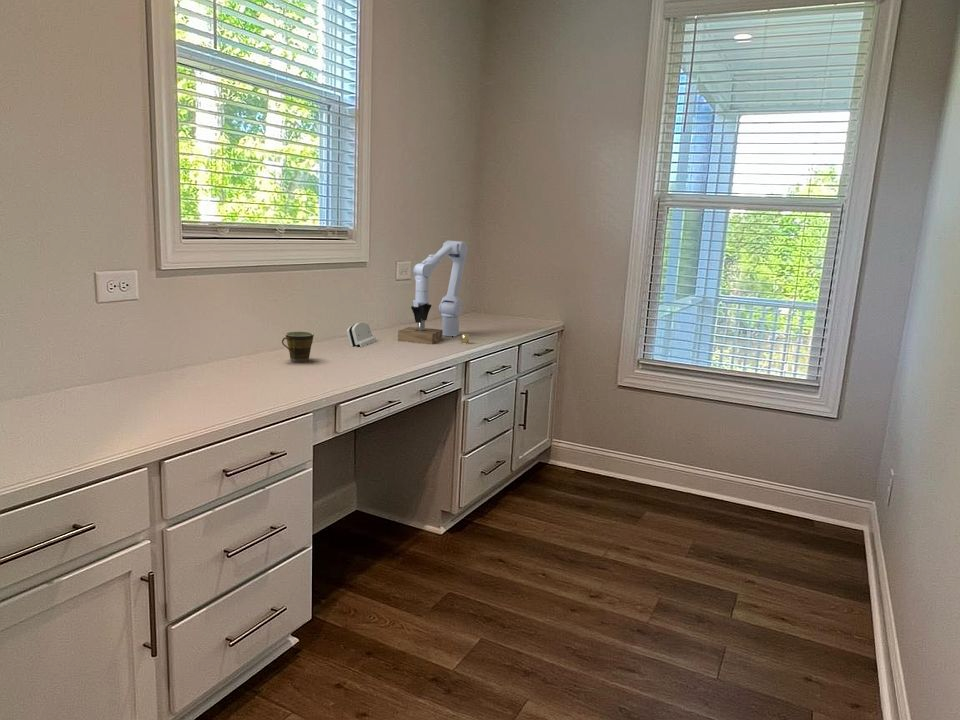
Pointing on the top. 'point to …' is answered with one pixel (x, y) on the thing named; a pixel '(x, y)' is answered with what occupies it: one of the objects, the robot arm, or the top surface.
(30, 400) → the top surface
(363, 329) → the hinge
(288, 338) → the ceramic cup
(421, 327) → the tall pin
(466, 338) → the short pin
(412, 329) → the hole block
